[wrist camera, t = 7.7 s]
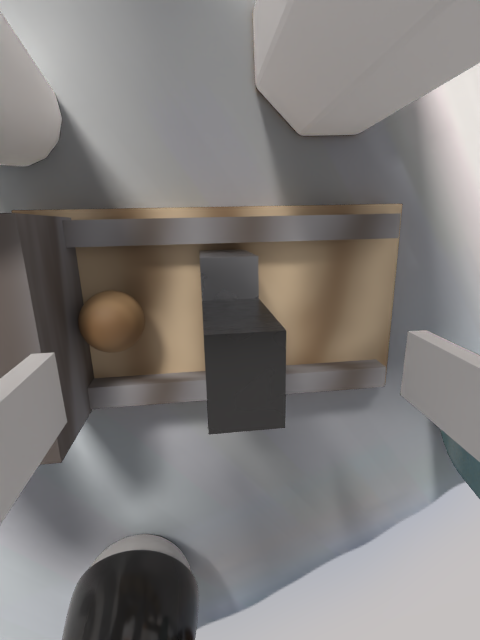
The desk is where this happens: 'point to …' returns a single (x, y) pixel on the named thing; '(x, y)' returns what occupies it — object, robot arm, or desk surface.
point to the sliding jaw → (240, 346)
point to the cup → (358, 57)
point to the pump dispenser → (135, 594)
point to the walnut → (111, 321)
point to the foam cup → (24, 105)
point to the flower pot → (463, 463)
